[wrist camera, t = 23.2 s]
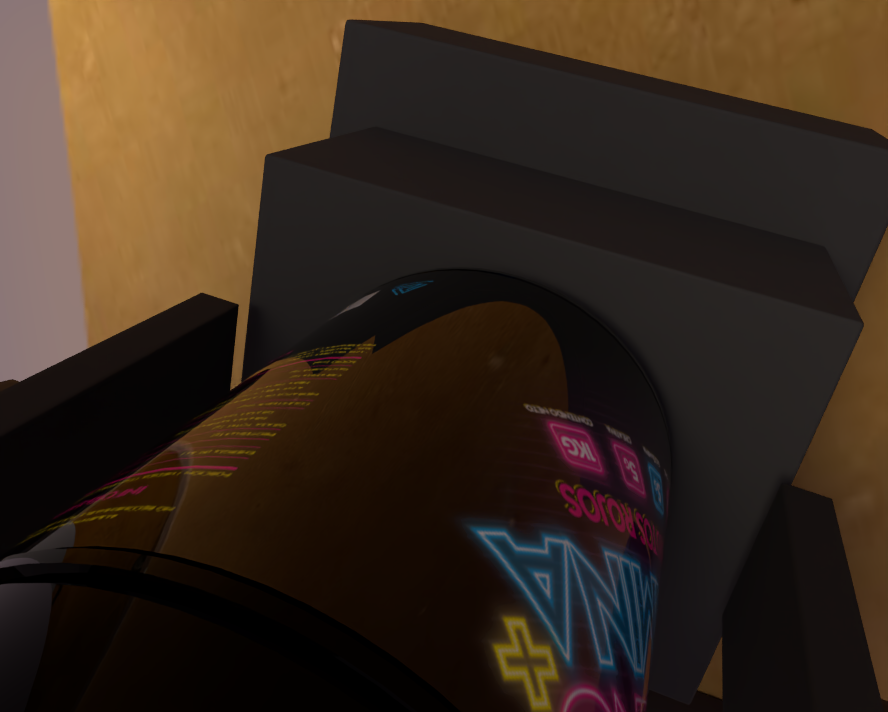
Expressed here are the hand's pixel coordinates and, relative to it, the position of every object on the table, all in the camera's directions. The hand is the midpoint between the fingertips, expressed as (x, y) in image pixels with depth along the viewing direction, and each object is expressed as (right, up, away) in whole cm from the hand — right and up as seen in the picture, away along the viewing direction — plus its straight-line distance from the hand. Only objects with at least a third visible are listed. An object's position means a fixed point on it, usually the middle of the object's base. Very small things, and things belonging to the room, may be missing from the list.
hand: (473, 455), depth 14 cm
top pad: (+2, +2, +5) cm, 6 cm away
